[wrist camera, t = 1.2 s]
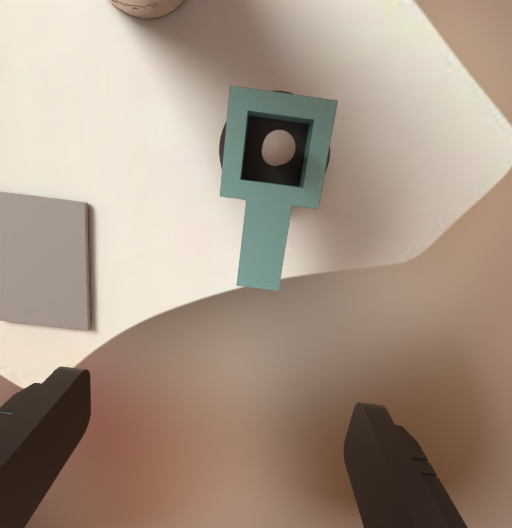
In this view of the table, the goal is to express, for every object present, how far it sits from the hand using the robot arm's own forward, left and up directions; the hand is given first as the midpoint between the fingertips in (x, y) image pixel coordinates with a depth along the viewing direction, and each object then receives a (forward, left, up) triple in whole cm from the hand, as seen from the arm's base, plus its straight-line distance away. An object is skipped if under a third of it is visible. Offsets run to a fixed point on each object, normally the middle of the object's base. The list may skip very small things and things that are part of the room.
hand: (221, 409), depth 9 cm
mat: (+5, -21, -24) cm, 32 cm away
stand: (-8, +1, -24) cm, 25 cm away
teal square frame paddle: (-5, +1, -15) cm, 16 cm away
